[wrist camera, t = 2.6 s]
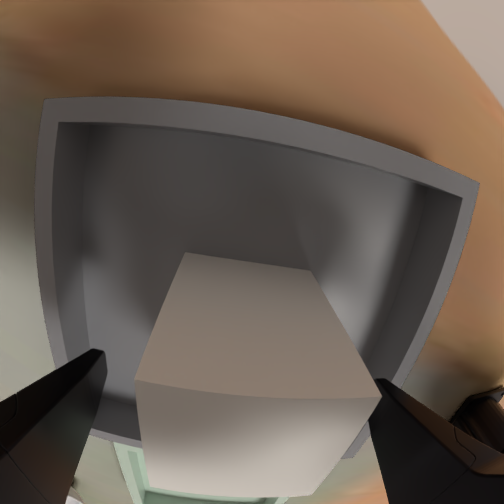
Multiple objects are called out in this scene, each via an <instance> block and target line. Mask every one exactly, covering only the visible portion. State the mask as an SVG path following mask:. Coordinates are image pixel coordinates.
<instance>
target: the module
mask: <svg viewBox="0 0 504 504" xmlns="http://www.w3.org/2000/svg"><path fill="white" fill-rule="evenodd" d="M134 383H135V394H136V403H137V412H138V420H139V427H140V434H141V441H142V447H143V453H144V459H145V465H146V470H147V475H148V480H149V485H150V487H154V488H160V489H165V490H171V491H178V492H185V493H193V494H202V495H212V496H226V497H293V496H307V495H312V493H313V492H314V491H315V490H316V489H317V488H318V486H319V485H320V484H321V483H322V482H323V480H324V479H325V478H326V477H327V475H328V474H329V473H330V472H331V470H332V469H333V468H334V467H335V465H336V464H337V463H338V461H339V460H340V459H341V457H342V456H343V455H344V453H345V452H346V451H347V449H348V448H349V447H350V445H351V444H352V442H353V441H354V439H355V438H356V437H357V435H358V434H359V432H360V431H361V429H362V428H363V426H364V425H365V423H366V422H367V420H368V419H369V417H370V415H371V414H372V412H373V411H374V409H375V407H376V406H377V404H378V402H379V401H380V399H381V397H382V395H381V393H380V391H379V390H378V388H377V386H376V384H375V382H374V380H373V379H372V377H371V375H370V373H369V371H368V369H367V368H366V366H365V364H364V362H363V360H362V359H361V357H360V355H359V353H358V351H357V350H356V348H355V346H354V344H353V342H352V341H351V339H350V337H349V335H348V334H347V332H346V330H345V328H344V327H343V325H342V323H341V321H340V320H339V318H338V316H337V315H336V313H335V311H334V309H333V308H332V306H331V304H330V303H329V301H328V299H327V297H326V296H325V294H324V292H323V291H322V289H321V287H320V286H319V284H318V282H317V281H316V279H315V277H314V276H313V274H312V272H311V271H309V270H302V269H295V268H288V267H282V266H275V265H268V264H261V263H254V262H247V261H241V260H234V259H227V258H220V257H214V256H207V255H200V254H194V253H187V252H185V254H184V256H183V258H182V261H181V263H180V265H179V267H178V270H177V272H176V274H175V277H174V279H173V281H172V284H171V286H170V289H169V291H168V293H167V296H166V298H165V301H164V303H163V305H162V308H161V310H160V313H159V315H158V318H157V320H156V323H155V325H154V328H153V330H152V333H151V336H150V338H149V341H148V343H147V346H146V349H145V351H144V354H143V356H142V359H141V362H140V365H139V367H138V370H137V373H136V375H135V378H134Z"/></svg>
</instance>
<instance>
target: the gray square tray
mask: <svg viewBox="0 0 504 504" xmlns="http://www.w3.org/2000/svg"><path fill="white" fill-rule="evenodd" d="M479 184H480V183H478V182H476V181H474V180H472V179H470V178H468V177H466V176H464V175H462V174H459V173H457V172H455V171H453V170H450V169H448V168H446V167H443V166H441V165H439V164H436V163H434V162H432V161H429V160H427V159H424V158H422V157H419V156H416V155H414V154H411V153H409V152H406V151H403V150H400V149H398V148H395V147H392V146H389V145H386V144H383V143H380V142H377V141H374V140H371V139H368V138H365V137H362V136H358V135H355V134H352V133H348V132H345V131H341V130H338V129H334V128H330V127H327V126H323V125H319V124H315V123H311V122H307V121H303V120H299V119H294V118H290V117H285V116H280V115H276V114H271V113H265V112H260V111H255V110H249V109H243V108H237V107H231V106H224V105H217V104H209V103H201V102H192V101H183V100H171V99H158V98H141V97H67V98H51V99H44V103H43V109H42V115H41V122H40V129H39V137H38V146H37V157H36V171H35V198H34V216H35V243H36V257H37V268H38V278H39V286H40V293H41V300H42V307H43V313H44V318H45V324H46V329H47V334H48V338H49V343H50V347H51V351H52V356H53V360H54V363H55V367H56V369H58V368H59V367H61V366H63V365H64V364H66V363H68V362H69V361H71V360H73V359H75V358H76V357H78V356H80V355H81V354H83V353H85V352H86V351H88V350H90V349H92V348H96V349H100V350H103V351H104V352H105V354H106V362H107V369H108V373H107V378H106V381H105V385H104V389H103V392H102V396H101V400H100V404H99V407H98V411H97V414H96V417H95V420H94V423H93V425H92V428H91V430H90V433H89V435H92V436H95V437H98V438H102V439H105V440H109V441H113V442H116V443H120V444H124V445H128V446H133V447H137V448H142V449H143V447H142V441H141V434H140V427H139V420H138V412H137V403H136V394H135V383H134V378H135V375H136V373H137V370H138V367H139V365H140V362H141V359H142V356H143V354H144V351H145V349H146V346H147V343H148V341H149V338H150V336H151V333H152V330H153V328H154V325H155V323H156V320H157V318H158V315H159V313H160V310H161V308H162V305H163V303H164V301H165V298H166V296H167V293H168V291H169V289H170V286H171V284H172V281H173V279H174V277H175V274H176V272H177V270H178V267H179V265H180V263H181V261H182V258H183V256H184V254H185V252H187V253H194V254H200V255H207V256H214V257H220V258H227V259H234V260H241V261H247V262H254V263H261V264H268V265H275V266H282V267H288V268H295V269H302V270H309V271H311V272H312V274H313V276H314V277H315V279H316V281H317V282H318V284H319V286H320V287H321V289H322V291H323V292H324V294H325V296H326V297H327V299H328V301H329V303H330V304H331V306H332V308H333V309H334V311H335V313H336V315H337V316H338V318H339V320H340V321H341V323H342V325H343V327H344V328H345V330H346V332H347V334H348V335H349V337H350V339H351V341H352V342H353V344H354V346H355V348H356V350H357V351H358V353H359V355H360V357H361V359H362V360H363V362H364V364H365V366H366V368H367V369H368V371H369V373H370V375H371V377H372V379H373V380H374V379H375V378H386V379H387V380H389V381H390V382H391V383H393V384H394V385H396V386H397V387H398V388H401V386H402V385H403V383H404V381H405V380H406V378H407V376H408V374H409V372H410V371H411V369H412V367H413V365H414V363H415V361H416V360H417V358H418V356H419V354H420V352H421V350H422V348H423V346H424V344H425V342H426V340H427V338H428V336H429V334H430V331H431V329H432V327H433V325H434V323H435V321H436V318H437V316H438V314H439V311H440V309H441V307H442V304H443V302H444V300H445V297H446V295H447V292H448V289H449V287H450V284H451V282H452V279H453V276H454V273H455V271H456V268H457V265H458V262H459V259H460V256H461V253H462V250H463V247H464V243H465V240H466V237H467V233H468V230H469V226H470V223H471V219H472V215H473V211H474V207H475V203H476V198H477V194H478V189H479ZM369 436H370V429H369V423H368V420H367V422H366V423H365V425H364V426H363V428H362V429H361V431H360V432H359V434H358V435H357V437H356V438H355V439H354V441H353V442H352V444H351V445H350V447H349V448H348V449H347V451H346V452H345V453H344V455H343V456H342V457H341V459H345V458H353V457H354V456H355V455H356V453H357V452H358V451H359V449H360V448H361V447H362V445H363V444H364V443H365V441H366V440H367V439H368V437H369Z"/></svg>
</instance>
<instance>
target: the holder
mask: <svg viewBox="0 0 504 504" xmlns="http://www.w3.org/2000/svg"><path fill="white" fill-rule="evenodd" d="M113 443H114V447H115V450H116V454H117V457H118V460H119V463H120V466H121V469H122V472H123V475H124V478H125V481H126V484H127V486H128V489H129V492H130V494H131V497H132V499H133V502H134V504H284V503H285V502H286V500H287V499H288V498H289V497H226V496H212V495H202V494H193V493H185V492H178V491H171V490H165V489H160V488H154V487H150V485H149V480H148V475H147V470H146V465H145V459H144V453H143V449H142V448H137V447H133V446H128V445H124V444H120V443H116V442H113Z"/></svg>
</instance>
